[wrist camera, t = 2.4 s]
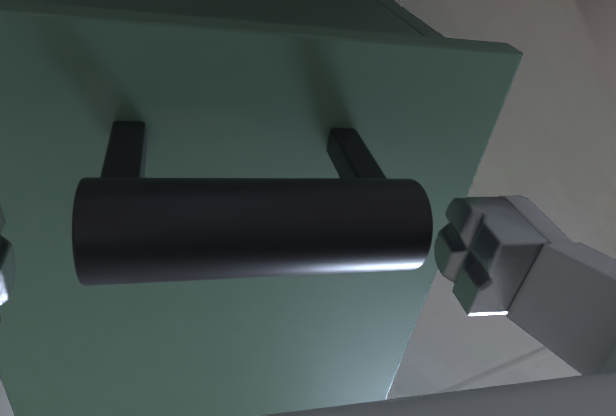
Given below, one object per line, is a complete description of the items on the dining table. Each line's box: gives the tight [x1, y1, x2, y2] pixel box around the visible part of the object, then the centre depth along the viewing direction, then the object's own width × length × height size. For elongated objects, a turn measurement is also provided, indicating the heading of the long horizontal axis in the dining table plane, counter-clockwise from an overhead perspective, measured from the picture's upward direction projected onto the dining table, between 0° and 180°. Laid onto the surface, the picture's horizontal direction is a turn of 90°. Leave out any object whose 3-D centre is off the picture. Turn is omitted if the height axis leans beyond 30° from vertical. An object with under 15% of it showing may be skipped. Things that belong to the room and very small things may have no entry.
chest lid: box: [0, 0, 523, 416], centre depth 14 cm, size 17×14×5 cm
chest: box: [15, 0, 445, 38], centre depth 19 cm, size 17×14×9 cm
